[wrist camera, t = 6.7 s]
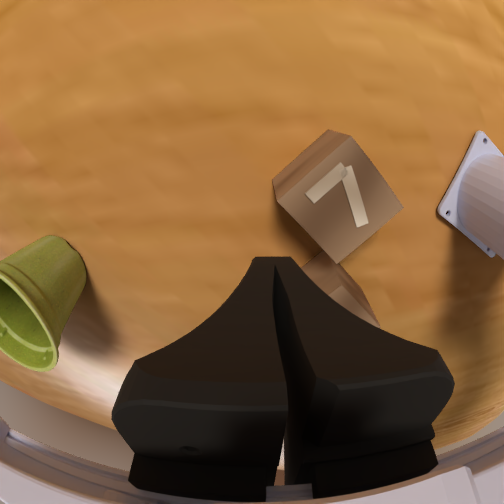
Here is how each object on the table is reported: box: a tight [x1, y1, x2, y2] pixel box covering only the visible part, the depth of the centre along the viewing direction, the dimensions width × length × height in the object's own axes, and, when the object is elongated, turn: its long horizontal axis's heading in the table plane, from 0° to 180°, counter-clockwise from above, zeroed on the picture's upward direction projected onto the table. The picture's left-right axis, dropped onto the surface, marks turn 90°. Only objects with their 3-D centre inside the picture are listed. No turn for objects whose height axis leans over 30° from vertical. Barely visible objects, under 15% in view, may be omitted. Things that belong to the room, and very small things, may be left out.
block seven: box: [272, 130, 404, 264], centre depth 17 cm, size 5×5×5 cm
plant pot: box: [0, 235, 86, 372], centre depth 18 cm, size 9×9×9 cm
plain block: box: [301, 250, 381, 328], centre depth 21 cm, size 5×5×5 cm
